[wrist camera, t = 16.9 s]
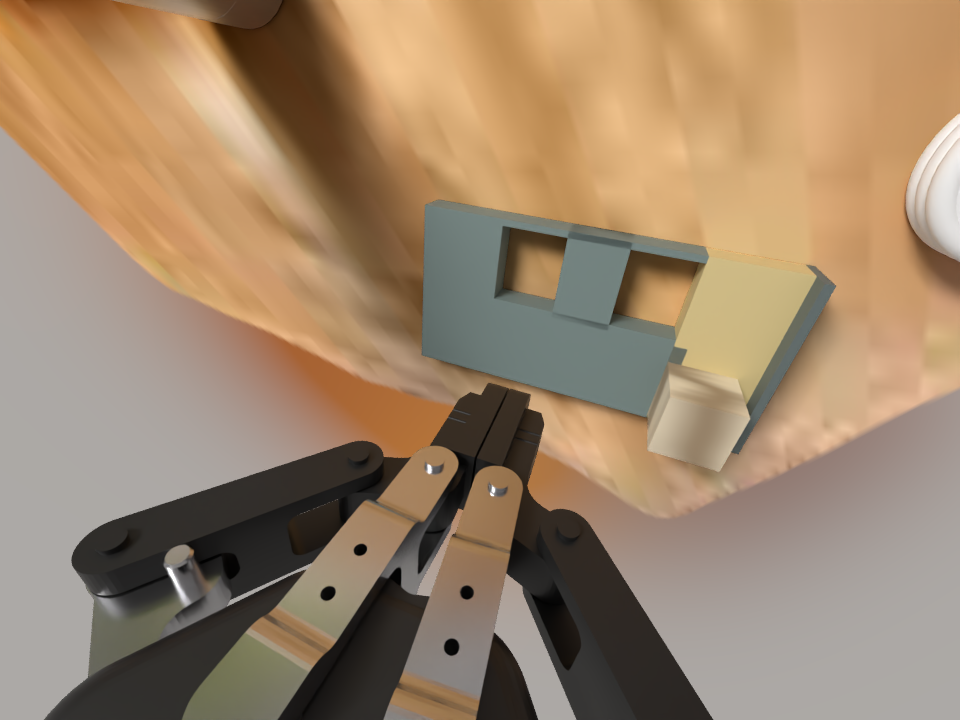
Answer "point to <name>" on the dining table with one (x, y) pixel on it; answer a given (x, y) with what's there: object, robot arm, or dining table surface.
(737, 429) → the block
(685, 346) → the box
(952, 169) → the white ridged round container
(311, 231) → the dining table surface
